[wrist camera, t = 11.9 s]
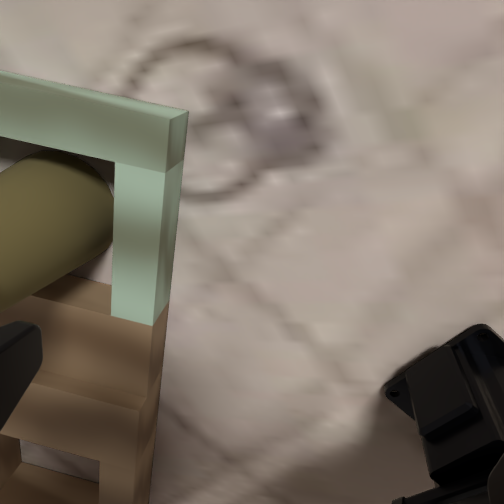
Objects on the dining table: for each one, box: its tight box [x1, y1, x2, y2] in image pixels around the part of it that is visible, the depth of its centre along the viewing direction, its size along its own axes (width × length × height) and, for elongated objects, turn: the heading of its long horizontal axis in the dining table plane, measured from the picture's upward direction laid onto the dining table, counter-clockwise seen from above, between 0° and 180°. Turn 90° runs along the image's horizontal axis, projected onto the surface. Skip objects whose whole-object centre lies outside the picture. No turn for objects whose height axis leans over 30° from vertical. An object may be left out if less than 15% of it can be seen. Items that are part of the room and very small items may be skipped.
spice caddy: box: [0, 71, 189, 504], centre depth 25 cm, size 30×12×4 cm, turn 170°
